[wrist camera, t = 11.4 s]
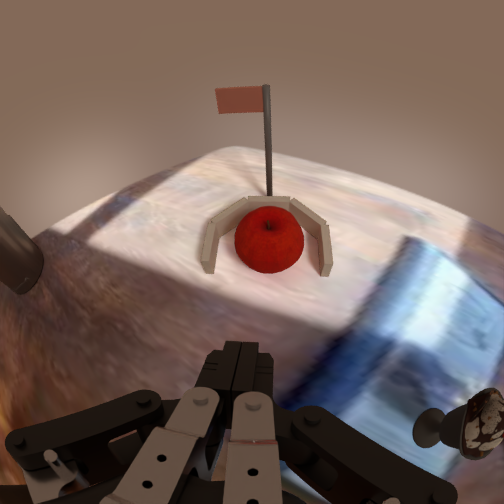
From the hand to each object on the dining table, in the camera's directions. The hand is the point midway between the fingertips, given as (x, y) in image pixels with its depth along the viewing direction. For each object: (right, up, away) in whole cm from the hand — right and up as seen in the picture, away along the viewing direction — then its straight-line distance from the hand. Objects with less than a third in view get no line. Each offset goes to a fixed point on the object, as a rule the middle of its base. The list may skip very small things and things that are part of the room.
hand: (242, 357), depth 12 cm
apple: (+3, +4, +22) cm, 23 cm away
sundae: (+21, -15, +8) cm, 27 cm away
